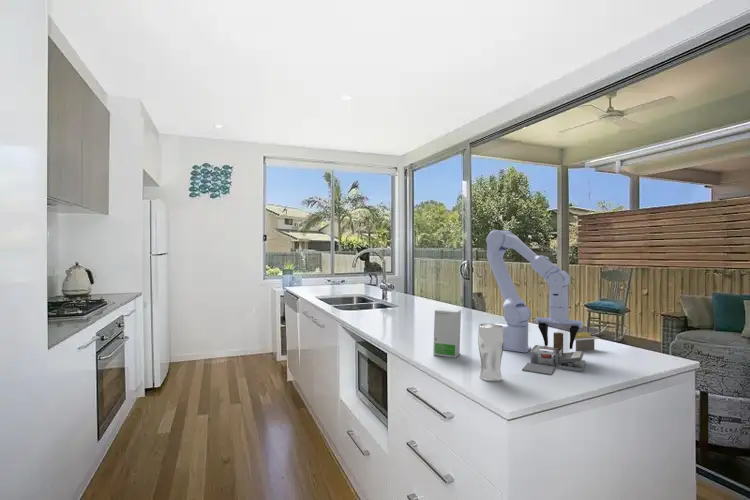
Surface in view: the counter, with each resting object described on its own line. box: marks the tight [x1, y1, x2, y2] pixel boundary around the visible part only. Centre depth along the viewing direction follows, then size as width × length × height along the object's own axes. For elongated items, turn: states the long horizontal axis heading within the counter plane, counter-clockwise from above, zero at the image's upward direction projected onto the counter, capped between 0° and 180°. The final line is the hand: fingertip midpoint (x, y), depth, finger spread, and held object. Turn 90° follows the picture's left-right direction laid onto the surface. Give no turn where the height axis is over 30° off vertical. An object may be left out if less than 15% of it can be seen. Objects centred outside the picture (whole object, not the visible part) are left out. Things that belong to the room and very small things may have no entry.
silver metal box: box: [530, 344, 586, 373], centre depth 128 cm, size 15×10×4 cm, turn 58°
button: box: [540, 353, 553, 359], centre depth 131 cm, size 3×3×2 cm
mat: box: [521, 362, 556, 376], centre depth 122 cm, size 8×8×1 cm
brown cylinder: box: [552, 331, 564, 358], centre depth 136 cm, size 3×3×8 cm
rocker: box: [559, 350, 584, 363], centre depth 126 cm, size 6×9×1 cm, turn 148°
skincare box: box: [433, 307, 462, 359], centre depth 139 cm, size 8×7×16 cm
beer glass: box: [477, 322, 504, 383], centre depth 114 cm, size 7×7×15 cm
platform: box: [574, 331, 599, 352], centre depth 146 cm, size 12×18×7 cm, turn 105°
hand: (558, 346), depth 136 cm, fingers open, 7 cm apart
